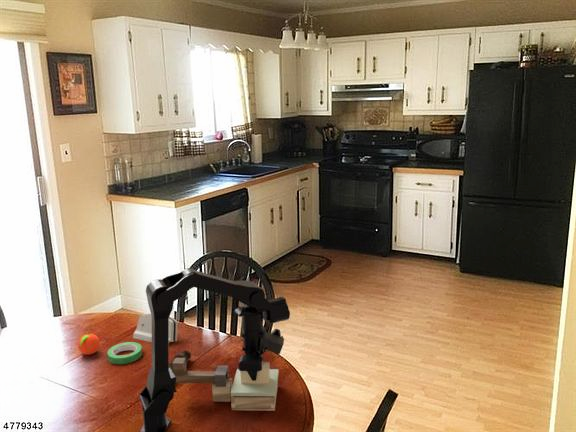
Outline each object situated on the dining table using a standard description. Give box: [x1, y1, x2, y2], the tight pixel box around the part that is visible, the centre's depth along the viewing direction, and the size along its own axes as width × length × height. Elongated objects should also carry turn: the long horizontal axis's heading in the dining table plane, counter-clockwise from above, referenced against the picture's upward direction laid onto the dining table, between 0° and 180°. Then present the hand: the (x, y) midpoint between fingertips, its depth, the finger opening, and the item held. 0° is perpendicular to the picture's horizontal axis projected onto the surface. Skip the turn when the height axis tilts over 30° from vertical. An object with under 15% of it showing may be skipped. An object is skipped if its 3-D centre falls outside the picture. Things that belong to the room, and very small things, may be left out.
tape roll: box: [107, 341, 143, 365], centre depth 171 cm, size 11×11×3 cm
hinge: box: [132, 312, 179, 344], centre depth 183 cm, size 17×5×10 cm, turn 64°
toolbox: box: [211, 365, 279, 411], centre depth 145 cm, size 12×18×9 cm, turn 87°
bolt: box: [168, 349, 192, 371], centre depth 161 cm, size 6×5×15 cm
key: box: [172, 358, 216, 384], centre depth 144 cm, size 3×12×6 cm, turn 87°
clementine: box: [77, 333, 101, 356], centre depth 172 cm, size 8×7×7 cm
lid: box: [231, 361, 280, 397], centre depth 144 cm, size 12×12×6 cm
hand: (254, 377), depth 144 cm, fingers closed on lid, 3 cm apart
